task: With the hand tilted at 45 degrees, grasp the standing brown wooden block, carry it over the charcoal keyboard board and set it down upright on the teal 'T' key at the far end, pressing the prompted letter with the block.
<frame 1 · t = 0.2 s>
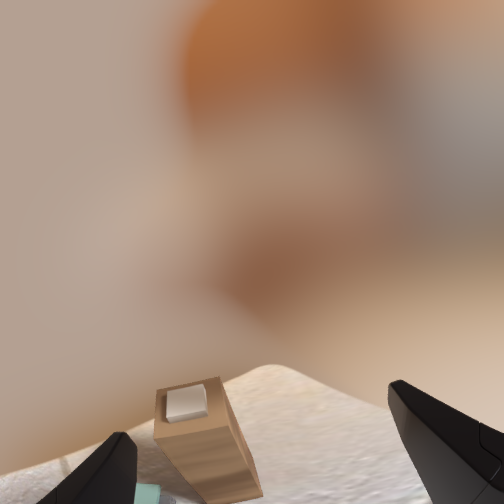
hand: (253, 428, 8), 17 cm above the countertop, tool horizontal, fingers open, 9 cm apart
brown wooden block: (232, 482, 20), on the countertop
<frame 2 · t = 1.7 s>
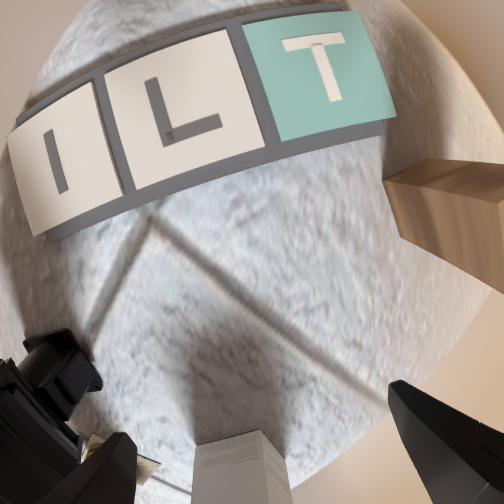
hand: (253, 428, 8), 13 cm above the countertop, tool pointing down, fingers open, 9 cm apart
supplement box 2: (242, 453, 26), on the countertop
brown wooden block: (415, 197, 20), on the countertop
condiment: (119, 459, 27), on the countertop
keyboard: (183, 109, 17), on the countertop
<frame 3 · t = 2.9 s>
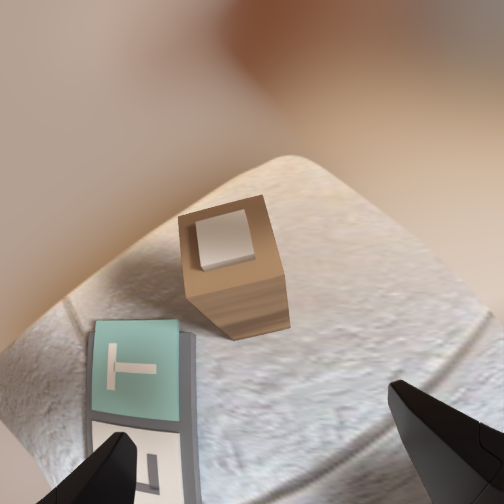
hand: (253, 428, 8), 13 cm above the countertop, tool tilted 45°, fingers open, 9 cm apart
brown wooden block: (256, 307, 24), on the countertop
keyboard: (142, 469, 19), on the countertop
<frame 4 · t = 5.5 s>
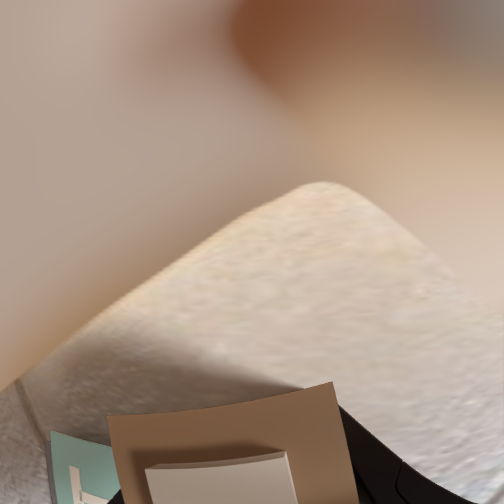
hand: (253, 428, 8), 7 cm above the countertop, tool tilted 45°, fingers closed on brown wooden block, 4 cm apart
brown wooden block: (276, 438, 14), on the countertop, touching gripper
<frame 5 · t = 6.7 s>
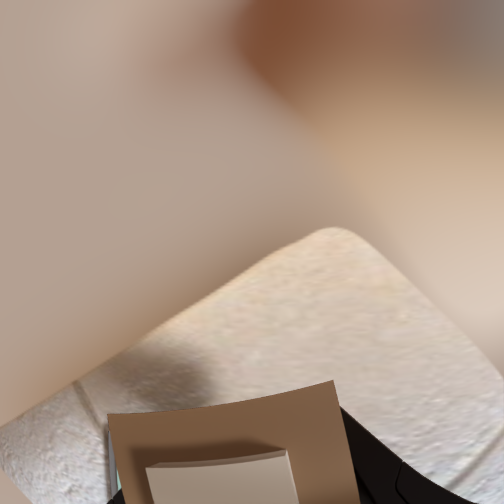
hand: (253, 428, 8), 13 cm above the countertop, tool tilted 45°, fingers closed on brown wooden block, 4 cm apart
brown wooden block: (277, 438, 14), point 7 cm above the countertop, touching gripper
when the fingers open (9 cm above the countertop, at t = 8.3 s): brown wooden block drops 1 cm, resting on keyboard.
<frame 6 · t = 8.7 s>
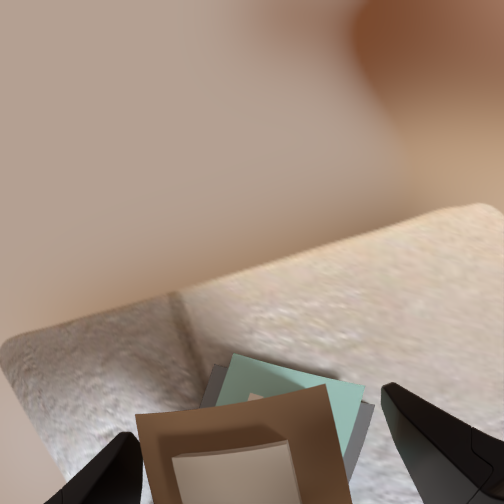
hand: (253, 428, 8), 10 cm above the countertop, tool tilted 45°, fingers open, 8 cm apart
brown wooden block: (277, 435, 15), point 2 cm above the countertop, touching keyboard
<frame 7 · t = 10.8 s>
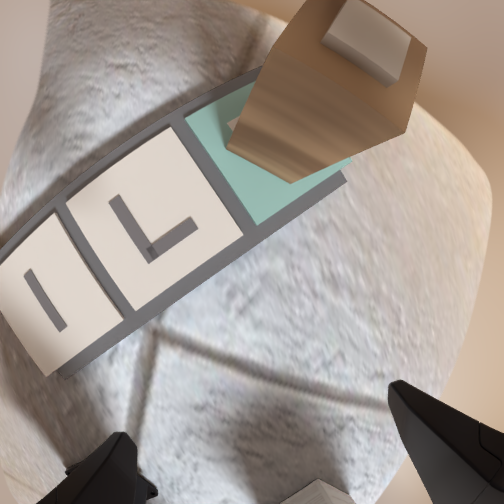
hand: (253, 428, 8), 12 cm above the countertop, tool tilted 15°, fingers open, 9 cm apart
brown wooden block: (274, 136, 18), point 2 cm above the countertop, touching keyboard
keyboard: (153, 218, 19), on the countertop
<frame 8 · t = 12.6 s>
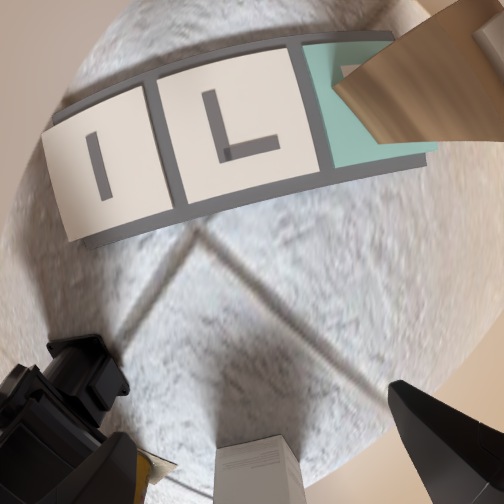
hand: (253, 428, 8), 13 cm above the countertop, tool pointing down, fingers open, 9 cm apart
supplement box 2: (259, 456, 27), on the countertop
brown wooden block: (379, 96, 16), point 2 cm above the countertop, touching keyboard
condiment: (134, 460, 28), on the countertop
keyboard: (237, 124, 18), on the countertop
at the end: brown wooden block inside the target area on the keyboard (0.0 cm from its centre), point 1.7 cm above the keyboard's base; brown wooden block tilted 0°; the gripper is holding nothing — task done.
